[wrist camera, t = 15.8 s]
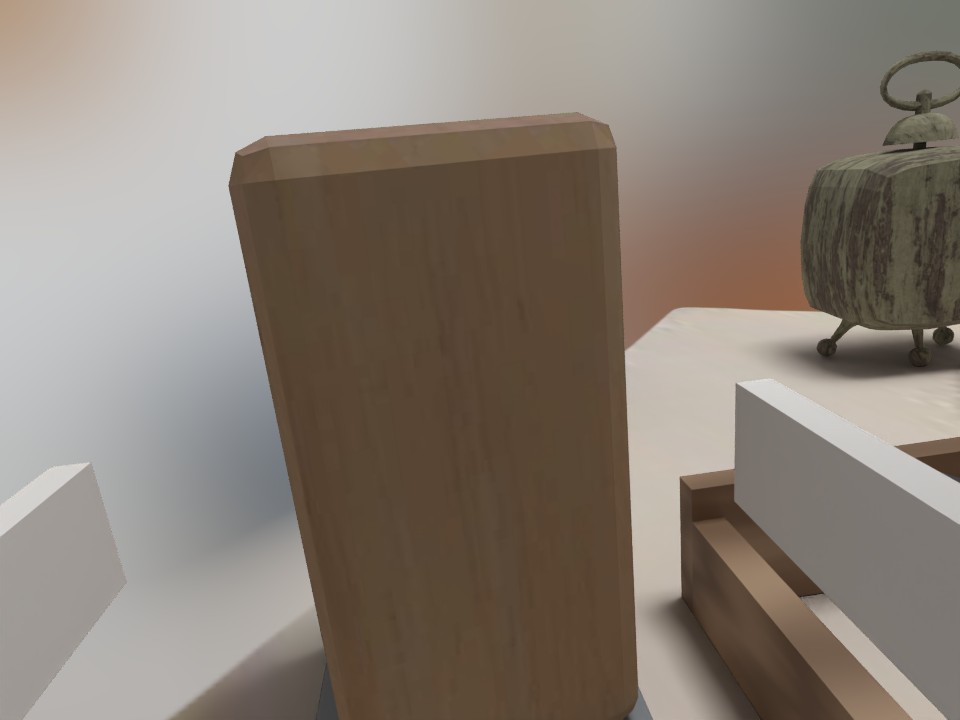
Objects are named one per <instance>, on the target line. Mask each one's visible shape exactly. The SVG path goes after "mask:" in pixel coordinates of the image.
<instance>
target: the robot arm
mask: <svg viewBox="0 0 960 720" xmlns="http://www.w3.org/2000/svg"><path fill="white" fill-rule="evenodd" d="M734 501H735V502H736V503H737V504H738V505H739V506H740V507H741V508H742V509H743V511H744V512H745V513H746V514H747V515H748V516H749V517H750V518H751V519H752V520H753V521H754V522H755V523H756V524H757V525H758V526H759V527H760V528H761V529H762V530H763V531H764V532H765V533H766V534H767V535H768V536H769V537H770V538H771V539H772V540H773V541H774V542H775V543H776V544H777V545H778V546H779V547H780V548H781V549H782V550H783V551H784V552H785V553H786V554H787V556H788V557H789V558H790V559H791V560H792V561H793V562H794V563H795V564H796V565H797V566H798V567H799V568H800V569H801V570H802V571H803V572H804V573H805V574H806V575H807V576H808V577H809V578H810V579H811V580H812V581H813V582H814V583H815V584H816V585H817V586H818V587H819V588H820V589H821V590H822V591H823V592H824V593H825V594H826V595H827V596H828V597H829V598H830V600H831V601H832V602H833V603H834V604H835V605H836V606H837V607H838V608H839V609H840V610H841V611H842V612H843V613H844V614H845V615H846V616H847V617H848V618H849V619H850V620H851V621H852V622H853V623H854V624H855V625H856V626H857V627H858V628H859V629H860V630H861V631H862V632H863V633H864V634H865V635H866V636H867V637H868V638H869V639H870V640H871V641H872V642H873V643H874V645H875V646H876V647H877V648H878V649H879V650H880V651H881V652H882V653H883V654H884V655H885V656H886V657H887V658H888V659H889V660H890V661H891V662H892V663H893V664H894V665H895V666H896V667H897V668H898V669H899V670H900V671H901V672H902V673H903V674H904V675H905V676H906V677H907V678H908V679H909V680H910V681H911V682H912V683H913V684H914V685H915V686H916V687H917V688H918V690H919V691H920V692H921V693H922V694H923V695H924V696H925V697H926V698H927V699H928V700H929V701H930V702H931V703H932V704H933V705H934V706H935V707H936V708H937V709H938V710H939V711H940V712H941V713H942V714H943V715H944V716H945V717H946V718H947V719H948V720H960V478H958V477H955V476H952V475H949V474H946V473H941V472H939V471H937V470H935V469H933V468H932V467H930V466H928V465H926V464H924V463H923V462H921V461H919V460H917V459H915V458H914V457H912V456H910V455H908V454H906V453H905V452H903V451H901V450H899V449H897V448H896V447H894V446H892V445H890V444H889V443H887V442H885V441H883V440H881V439H880V438H878V437H876V436H874V435H872V434H871V433H869V432H867V431H865V430H863V429H862V428H860V427H858V426H856V425H854V424H853V423H851V422H849V421H847V420H845V419H844V418H842V417H840V416H838V415H836V414H835V413H833V412H831V411H829V410H827V409H826V408H824V407H822V406H820V405H818V404H817V403H815V402H813V401H811V400H809V399H808V398H806V397H804V396H802V395H800V394H799V393H797V392H795V391H793V390H792V389H790V388H788V387H786V386H784V385H783V384H781V383H779V382H777V381H775V380H774V379H772V378H770V379H761V380H753V381H745V382H737V383H736V405H735V478H734ZM125 584H126V578H125V575H124V572H123V569H122V565H121V561H120V558H119V555H118V552H117V548H116V545H115V541H114V538H113V535H112V531H111V528H110V524H109V521H108V518H107V514H106V511H105V508H104V504H103V501H102V497H101V494H100V491H99V487H98V484H97V481H96V478H95V474H94V470H93V467H92V464H91V462H89V463H81V464H73V465H65V466H57V467H51V468H49V469H48V470H47V471H46V472H44V473H43V474H41V475H40V476H39V477H37V478H36V479H35V480H33V481H32V482H31V483H29V484H28V485H27V486H25V487H24V488H23V489H22V490H20V491H19V492H17V493H16V494H15V495H13V496H12V497H11V498H9V499H8V500H7V501H5V502H4V503H3V504H1V505H0V720H22V719H23V718H24V717H25V715H26V714H27V713H28V711H29V710H30V709H31V708H32V706H33V705H34V704H35V702H36V701H37V700H38V698H39V697H40V696H41V694H42V693H43V692H44V690H45V689H46V688H47V686H48V685H49V684H50V683H51V681H52V680H53V679H54V677H55V676H56V675H57V673H58V672H59V671H60V669H61V668H62V667H63V665H64V664H65V662H66V661H67V660H68V659H69V657H70V656H71V655H72V653H73V652H74V651H75V649H76V648H77V647H78V646H79V644H80V643H81V642H82V640H83V639H84V637H85V636H86V635H87V634H88V632H89V631H90V630H91V628H92V627H93V626H94V624H95V623H96V622H97V621H98V619H99V618H100V616H101V615H102V614H103V613H104V611H105V610H106V609H107V607H108V606H109V605H110V603H111V602H112V601H113V599H114V598H115V597H116V595H117V594H118V593H119V592H120V590H121V589H122V588H123V586H124V585H125Z"/></svg>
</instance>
